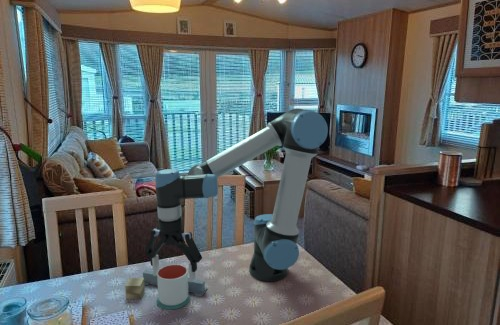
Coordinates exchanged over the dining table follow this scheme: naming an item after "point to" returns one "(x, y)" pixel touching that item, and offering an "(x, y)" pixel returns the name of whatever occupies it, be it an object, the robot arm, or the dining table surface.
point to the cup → (172, 284)
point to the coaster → (174, 305)
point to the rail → (193, 286)
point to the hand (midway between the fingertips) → (174, 277)
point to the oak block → (135, 288)
